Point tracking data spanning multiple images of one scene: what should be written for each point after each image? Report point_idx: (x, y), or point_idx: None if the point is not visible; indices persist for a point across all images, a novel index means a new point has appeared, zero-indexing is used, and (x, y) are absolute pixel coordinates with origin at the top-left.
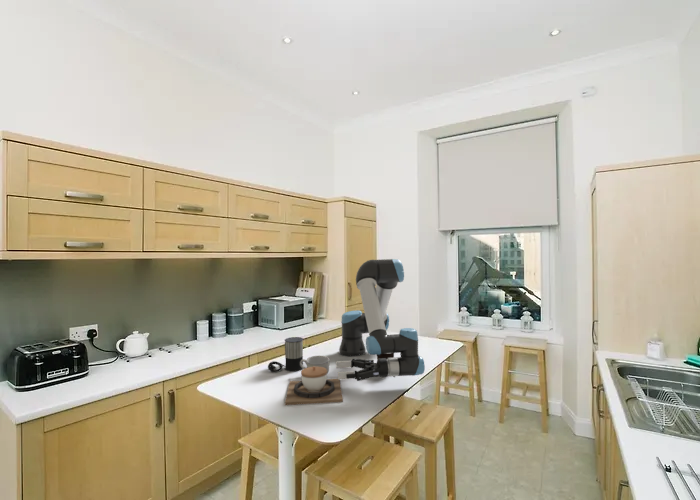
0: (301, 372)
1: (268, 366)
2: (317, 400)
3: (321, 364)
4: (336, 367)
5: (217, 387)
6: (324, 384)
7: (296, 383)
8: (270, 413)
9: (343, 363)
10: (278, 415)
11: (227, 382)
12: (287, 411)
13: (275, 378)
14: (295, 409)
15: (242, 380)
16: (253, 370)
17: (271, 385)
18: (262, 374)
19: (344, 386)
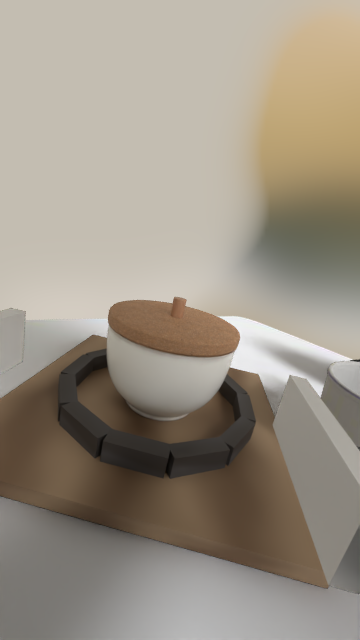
0: (171, 303)
1: (353, 360)
2: (34, 376)
3: (348, 395)
4: (274, 420)
5: (236, 321)
6: (123, 389)
7: (235, 379)
8: (67, 323)
9: (307, 435)
10: (43, 325)
11: (260, 330)
12: (49, 336)
13: (296, 371)
14: (44, 345)
15: (273, 340)
16: (343, 359)
17: (241, 356)
18: (320, 363)
19: (185, 592)
